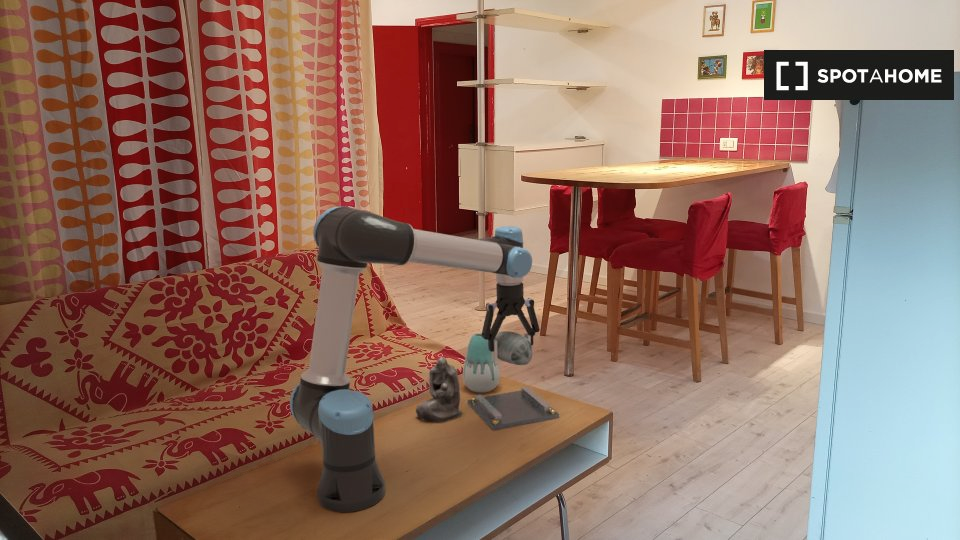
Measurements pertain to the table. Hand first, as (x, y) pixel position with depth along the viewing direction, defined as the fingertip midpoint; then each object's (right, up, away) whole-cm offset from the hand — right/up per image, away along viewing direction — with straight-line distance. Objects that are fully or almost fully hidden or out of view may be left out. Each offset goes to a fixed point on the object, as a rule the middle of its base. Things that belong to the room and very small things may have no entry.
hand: (511, 359), depth 205 cm
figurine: (-20, -17, +1) cm, 26 cm away
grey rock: (0, -1, 0) cm, 1 cm away
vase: (-8, -12, +20) cm, 25 cm away
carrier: (0, -15, +4) cm, 16 cm away
